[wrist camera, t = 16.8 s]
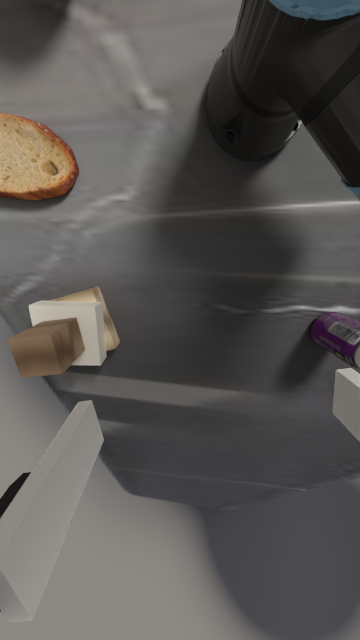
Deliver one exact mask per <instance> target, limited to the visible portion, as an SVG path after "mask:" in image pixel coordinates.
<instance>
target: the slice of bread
mask: <svg viewBox="0 0 360 640" xmlns="http://www.w3.org/2000/svg"><path fill="white" fill-rule="evenodd" d="M78 174H79V168H78V165H77V162H76V159H75V156H74V154H73V151H72V150H71V148H70V147H69V146H68V145H67V144H66V143H65V142H64V141H63V140H62V139H61V138H60V137H58V136H57V135H56V134H55V133H54V132H53V131H52V130H50V129H49V128H48V127H47V126H45V125H43V124H41V123H38V122H34V121H32V120H29V119H26V118H23V117H19V116H14V115H7V114H4V113H0V197H5V198H12V199H20V200H42V199H45V198H53V197H58V196H61V195H63V194H65V193H66V192H67V191H68V190H69V189H70V188H71V187H72V186H73V184H74V182H75V179H76V178H77V176H78Z"/></svg>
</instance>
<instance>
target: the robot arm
mask: <svg viewBox="0 0 360 640" xmlns="http://www.w3.org/2000/svg"><path fill="white" fill-rule="evenodd" d="M207 117H208V122H209V126H210V129H211V131H212V134H213V136H214V137H215V139H216V141H217V142H218V144H219V145H220V146H221V147H222V148H223V149H224V150H225V151H226V152H227V153H229V154H230V155H232V156H234V157H236V158H239V159H243V160H259V159H263V158H266V157H268V156H271V155H272V154H274V153H276V152H277V151H278V150H280V149H281V148H282V147H283V146H284V145H285V144H286V143H287V142H288V141H289V140H290V139H291V138H292V137H293V136H294V135H295V133H296V132H297V131H298V129H299V127H300V126H301V124H302V123H303V124H304V126H305V128H306V129H307V131H308V132H309V133H310V135H311V136H312V138H313V139H314V140H315V142H316V143H317V145H318V146H319V147H320V149H321V150H322V152H323V153H324V154H325V156H326V157H327V159H328V160H329V161H330V163H331V164H332V165H333V167H334V168H335V170H336V171H337V172H338V174H339V175H340V177H341V178H342V179H341V181H342V183H343V185H344V186H345V187H347V188H349V189H350V190H351V191H352V192H353V193H354V194H355V196H356V197H357V198H358V199H359V200H360V0H242V4H241V8H240V12H239V16H238V20H237V24H236V29H235V33H234V36H233V37H232V39H231V40H230V41H229V42H228V43H227V45H226V46H225V47H224V49H223V50H222V52H221V53H220V55H219V57H218V59H217V61H216V63H215V65H214V68H213V71H212V74H211V78H210V82H209V87H208V93H207ZM333 414H334V415H335V416H336V417H337V418H338V419H339V420H340V421H341V422H342V423H343V425H344V426H345V427H346V428H347V429H348V430H349V431H350V432H351V433H352V434H353V435H354V436H355V437H356V438H357V439H358V440H359V441H360V374H359V373H358V372H356V371H355V370H353V369H352V368H346V369H338V370H336V375H335V388H334V401H333ZM103 441H104V438H103V435H102V432H101V428H100V425H99V422H98V419H97V415H96V412H95V409H94V406H93V403H92V400H89V401H81V402H78V403H77V404H76V406H75V407H74V409H73V410H72V412H71V413H70V415H69V416H68V418H67V419H66V421H65V423H64V424H63V425H62V427H61V428H60V430H59V431H58V433H57V434H56V436H55V438H54V439H53V441H52V442H51V443H50V445H49V446H48V448H47V450H46V451H45V452H44V454H43V456H42V457H41V459H40V460H39V461H38V463H37V465H36V466H35V467H34V469H33V470H32V472H29V473H23V474H22V475H21V476H20V477H19V478H18V479H17V480H16V481H15V482H14V483H12V484H11V485H10V486H9V488H8V489H7V491H6V492H5V493H4V495H3V496H2V498H1V499H0V612H1V613H2V615H3V616H4V617H5V619H6V620H7V622H18V621H30V620H32V619H33V617H34V615H35V612H36V610H37V607H38V605H39V602H40V600H41V597H42V595H43V592H44V589H45V587H46V584H47V582H48V580H49V577H50V575H51V572H52V569H53V567H54V564H55V562H56V559H57V557H58V554H59V551H60V549H61V547H62V544H63V542H64V539H65V537H66V534H67V532H68V529H69V527H70V524H71V522H72V519H73V517H74V514H75V511H76V509H77V506H78V503H79V501H80V499H81V496H82V494H83V491H84V489H85V486H86V484H87V481H88V479H89V476H90V474H91V471H92V469H93V466H94V464H95V460H96V459H97V456H98V454H99V451H100V449H101V446H102V443H103Z"/></svg>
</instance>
